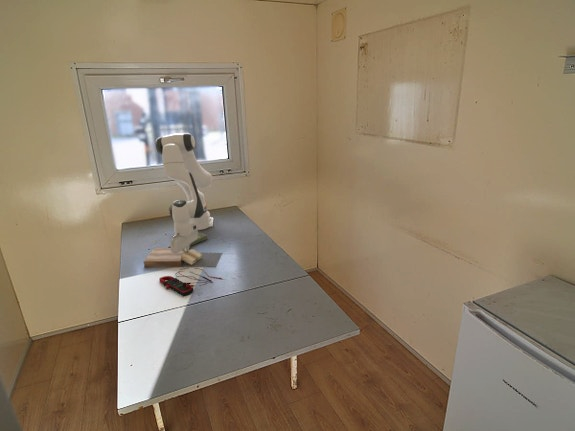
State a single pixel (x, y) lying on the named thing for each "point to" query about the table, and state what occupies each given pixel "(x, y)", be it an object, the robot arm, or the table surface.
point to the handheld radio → (198, 239)
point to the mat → (205, 260)
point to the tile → (191, 256)
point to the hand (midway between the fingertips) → (186, 252)
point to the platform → (164, 258)
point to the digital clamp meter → (182, 283)
